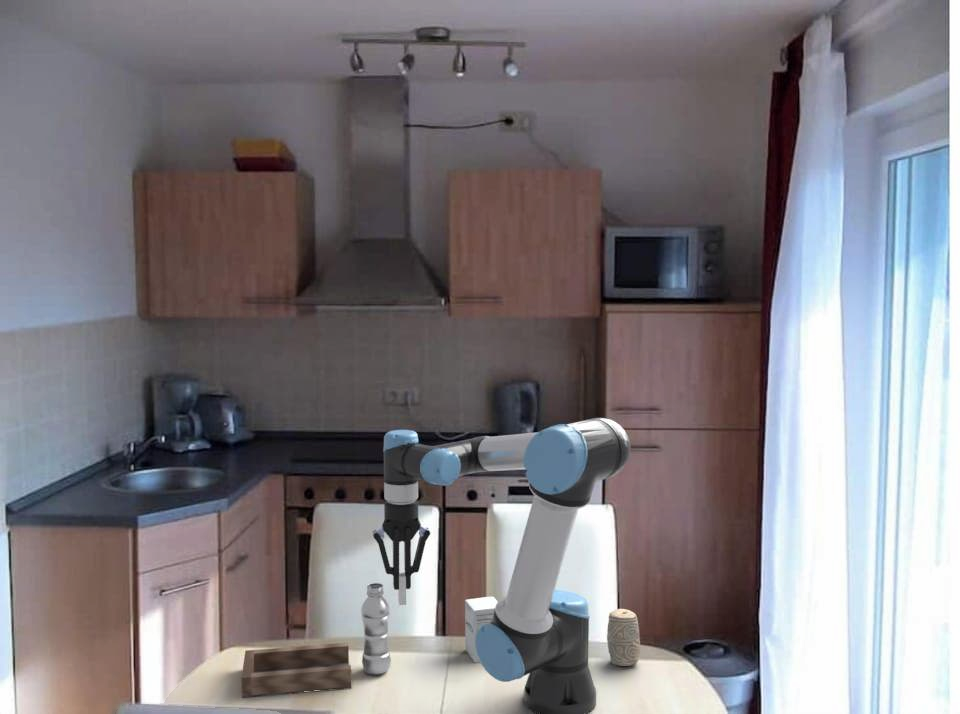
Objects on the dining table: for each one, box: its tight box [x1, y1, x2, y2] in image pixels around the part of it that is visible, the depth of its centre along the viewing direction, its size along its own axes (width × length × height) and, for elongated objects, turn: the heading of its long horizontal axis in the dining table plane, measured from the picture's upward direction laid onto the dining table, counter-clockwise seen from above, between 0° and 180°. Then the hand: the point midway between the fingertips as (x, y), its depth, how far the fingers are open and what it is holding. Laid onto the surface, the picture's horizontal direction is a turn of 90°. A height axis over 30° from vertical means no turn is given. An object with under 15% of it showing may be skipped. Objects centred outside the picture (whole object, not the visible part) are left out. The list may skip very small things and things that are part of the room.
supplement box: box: [464, 596, 499, 663], centre depth 219 cm, size 7×7×13 cm
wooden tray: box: [240, 642, 352, 699], centre depth 208 cm, size 23×14×4 cm, turn 101°
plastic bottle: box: [360, 582, 392, 676], centre depth 210 cm, size 6×7×20 cm
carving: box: [606, 608, 641, 667], centre depth 214 cm, size 6×8×12 cm
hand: (402, 602), depth 211 cm, fingers closed
